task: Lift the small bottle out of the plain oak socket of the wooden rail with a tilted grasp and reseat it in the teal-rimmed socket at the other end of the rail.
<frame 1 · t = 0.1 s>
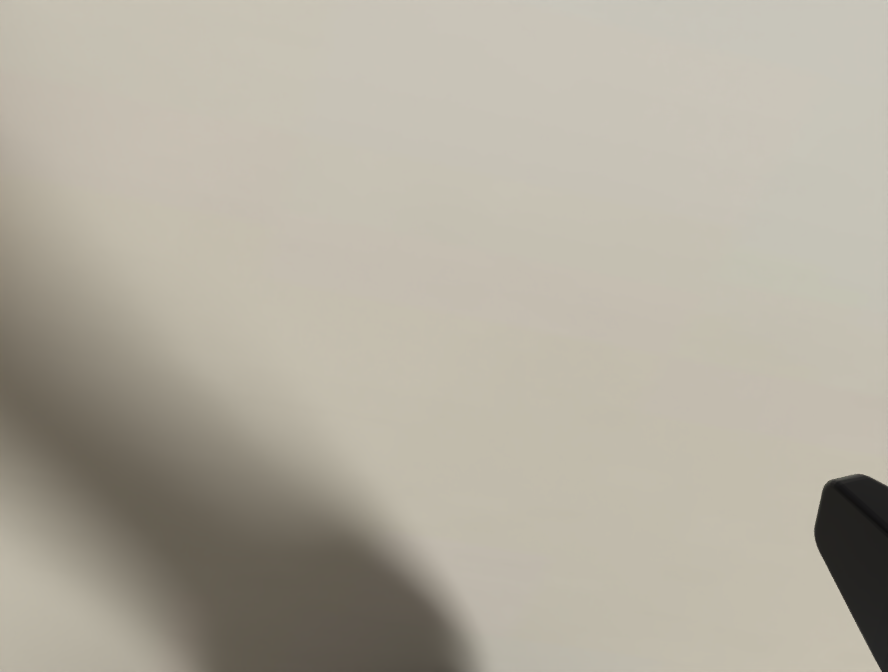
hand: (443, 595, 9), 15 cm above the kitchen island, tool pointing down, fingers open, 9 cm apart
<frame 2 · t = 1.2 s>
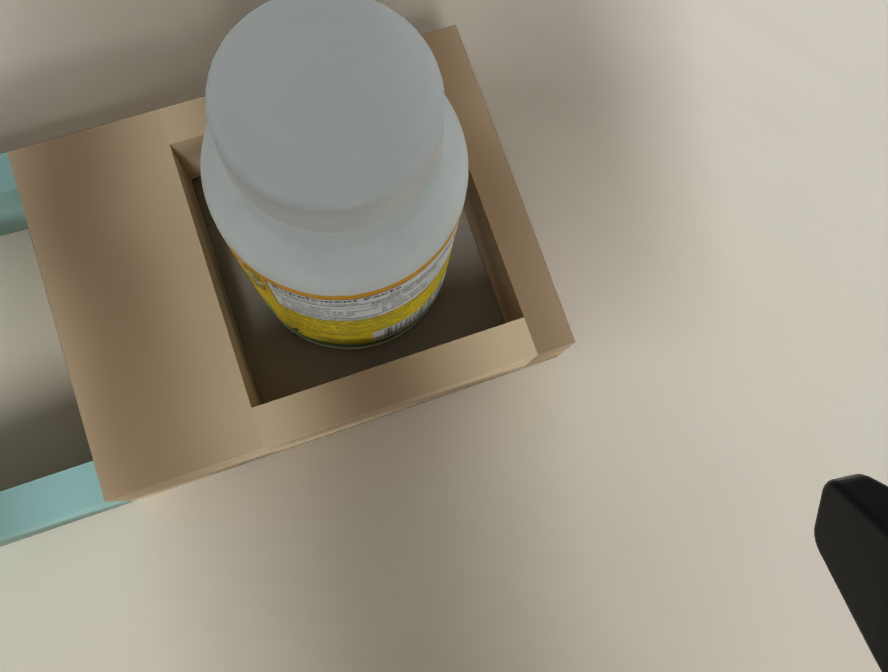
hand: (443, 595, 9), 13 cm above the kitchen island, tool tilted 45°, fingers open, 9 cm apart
supplement bottle: (350, 259, 23), resting in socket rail
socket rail: (159, 316, 22), on the kitchen island
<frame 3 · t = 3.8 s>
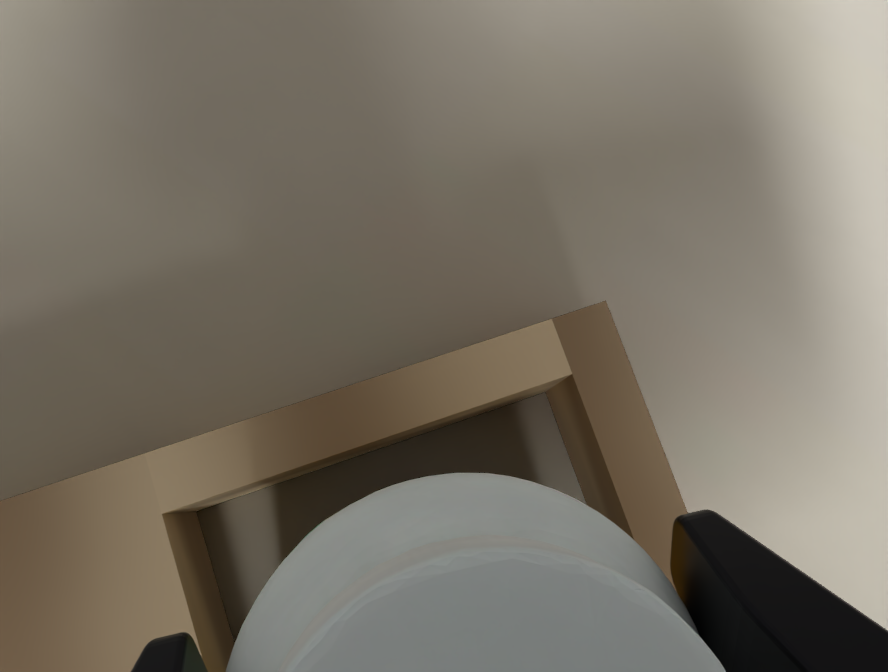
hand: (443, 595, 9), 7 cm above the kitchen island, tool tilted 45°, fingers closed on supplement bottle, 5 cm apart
supplement bottle: (434, 628, 15), resting in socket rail, touching gripper
when the fingers open (8 cm above the kitchen island, at t = 7.0 s): supplement bottle drops 1 cm, resting in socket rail.
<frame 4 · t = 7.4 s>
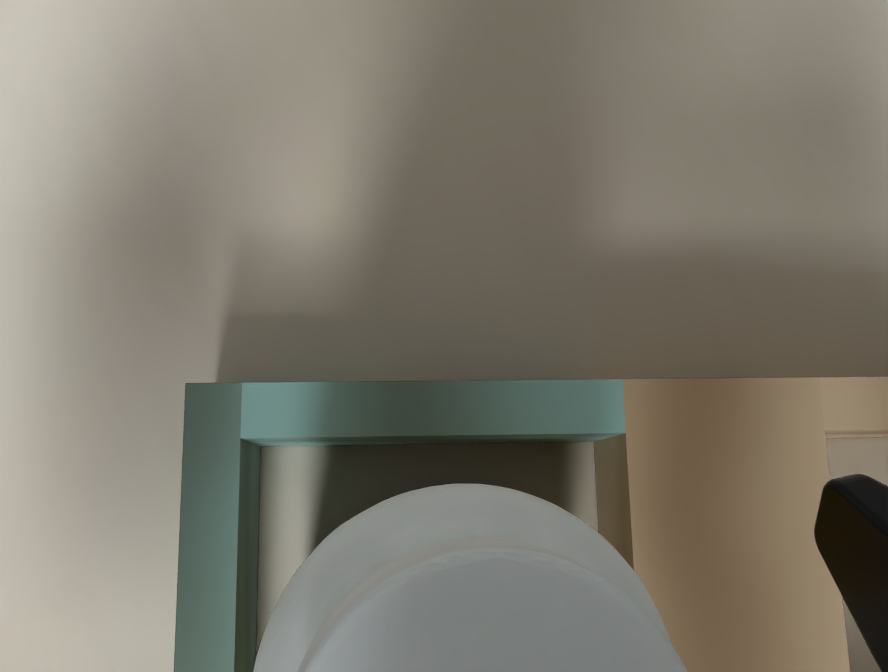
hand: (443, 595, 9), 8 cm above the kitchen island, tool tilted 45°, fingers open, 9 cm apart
supplement bottle: (435, 623, 17), resting in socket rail
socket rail: (693, 610, 17), on the kitchen island
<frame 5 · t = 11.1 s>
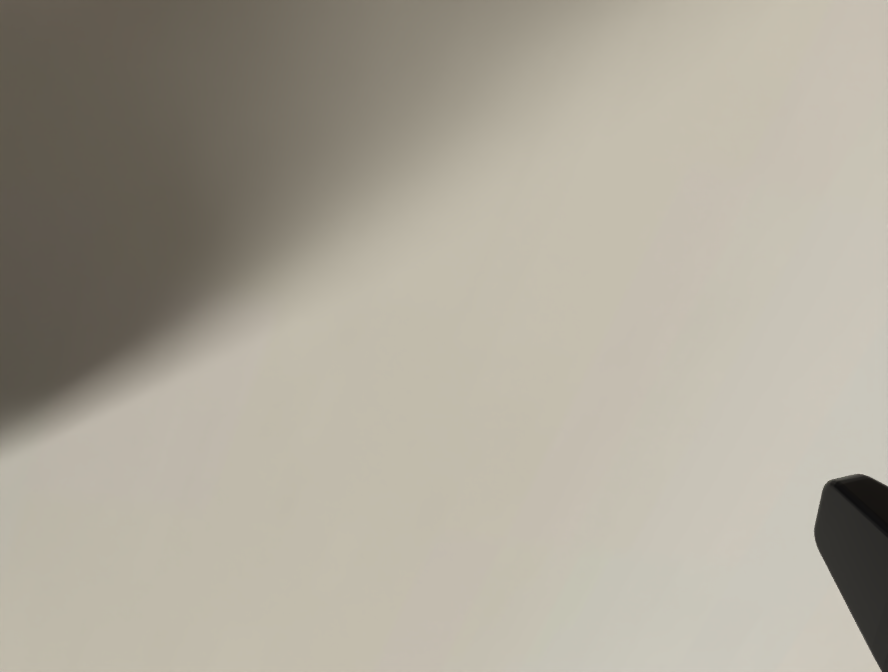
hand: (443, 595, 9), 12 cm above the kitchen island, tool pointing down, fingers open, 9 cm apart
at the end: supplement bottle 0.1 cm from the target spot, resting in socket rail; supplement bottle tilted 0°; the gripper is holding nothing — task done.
